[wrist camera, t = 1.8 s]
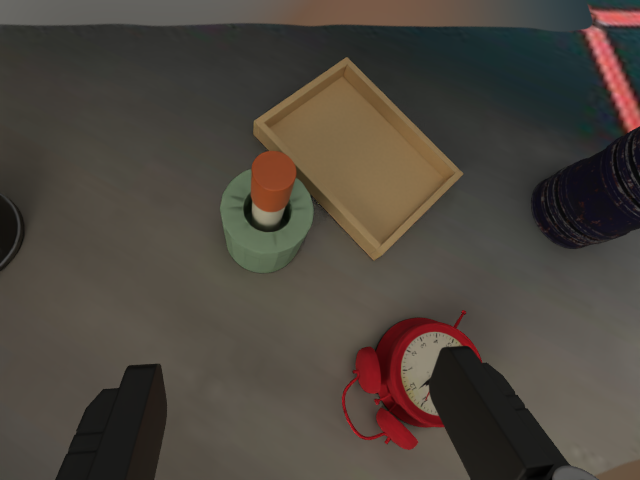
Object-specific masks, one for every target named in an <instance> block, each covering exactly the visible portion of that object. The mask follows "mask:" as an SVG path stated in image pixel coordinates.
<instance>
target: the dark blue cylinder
mask: <svg viewBox="0 0 640 480" xmlns="http://www.w3.org/2000/svg"><path fill="white" fill-rule="evenodd" d="M531 208H532V213H533V216H534V219H535V221H536V223H537V225H538V227H539V228H540V230H541V231H542V232H543V234H544V235H545V236H546V237H547V238H549V239H550V240H551V241H552V242H554V243H556V244H557V245H559V246H562V247H565V248H569V249H577V248H582V247H585V246H587V245H592V244H598V243H602V242H606V241H609V240H612V239H615V238H618V237H620V236H623V235H626V234H627V233H629V232H630V231H632V230H636V229H639V228H640V127H638V128H636V129H634V130H632V131H630V132H629V133H627V134H626V135H625V136H622V137H619V138H618V139H616V140H615V141H614V142H612V143H611V144H610V145H609V146H607V148H606V149H604V150H603V151H601V152H599V153H597V154H595V155H593V156H592V157H590V158H586V159H582V160H580V161H578V162H576V163H574V164H572V165H570V166H567V167H565V168H564V169H562V170H560V171H558V172H557V173H556V174H554V175H553V176H551V177H550V178H548V179H546V180H544V181H542V182H541V183H539V184H538V185H537V187H536V188H535V190H534V192H533V195H532V200H531Z"/></svg>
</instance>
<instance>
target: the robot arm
mask: <svg viewBox="0 0 640 480" xmlns="http://www.w3.org/2000/svg"><path fill="white" fill-rule="evenodd" d="M23 232H24V225H23V219H22V216H21V214H20V211H19V210H18V208H17V207H16V205H15V204H14V203H13V202H12V201H11V200H10V199H8V198H7V197H6V196H4V195H3V194H1V193H0V271H1V270H2V269H3V268H4V267H5V266H6V265H7V264H8V263H9V262H10V261H11V260H12V259H13V257H14V256H15V254H16V253H17V251H18V249H19V247H20V245H21V242H22V239H23ZM429 393H430V397H431V400H432V403H433V405H434V407H435V409H436V411H437V413H438V415H439V417H440V419H441V421H442V423H443V425H444V427H445V429H446V431H447V433H448V435H449V437H450V439H451V441H452V443H453V445H454V447H455V449H456V451H457V453H458V455H459V457H460V459H461V461H462V463H463V465H464V467H465V469H466V471H467V473H468V475H469V477H470V479H471V480H599V479H597V478H596V477H595V476H593V475H592V474H590V473H589V472H587V471H585V470H583V469H580V468H578V467H574V466H571V465H570V464H569V463H568V462H567V461H566V459H565V458H564V457H563V455H562V454H561V453H560V451H559V450H558V449H557V447H556V446H555V445H554V443H553V442H552V441H551V439H550V438H549V437H548V435H547V434H546V433H545V431H544V430H543V429H542V427H541V426H540V425H539V423H538V422H537V421H536V419H535V418H534V417H533V415H532V414H531V413H530V411H529V410H528V409H526V408H525V405H524V403H523V402H522V401H521V399H520V398H519V397H518V395H515V391H514V390H513V389H512V387H511V386H510V384H509V383H508V382H507V380H506V379H505V378H504V376H503V375H501V374H500V373H499V372H498V371H496V370H495V369H494V368H493V367H492V366H490V365H489V364H488V363H482V362H481V361H480V359H479V358H478V357H477V355H476V354H475V352H474V351H473V350H472V349H471V348H470V347H469V346H453V347H443V348H442V349H441V350H440V352H439V355H438V358H437V361H436V364H435V366H434V369H433V372H432V375H431V378H430V381H429ZM166 417H167V400H166V393H165V387H164V381H163V374H162V368H161V365H160V364H145V365H130V366H128V367H127V368H126V370H125V373H124V376H123V378H122V381H121V384H120V387H119V388H114V389H103V390H102V391H101V392H100V393H99V395H98V396H97V397H96V398H95V399H94V400H93V401H92V402H91V403H90V405H89V406H88V407H87V408H86V410H85V412H84V414H83V416H82V419H81V421H80V423H79V426H78V428H77V430H76V431H77V432H76V435H74V437H73V440H72V442H71V444H70V447H69V449H68V454H66V456H65V458H64V461H63V463H62V465H61V468H60V470H59V472H58V475H57V477H56V479H55V480H154V478H155V473H156V468H157V463H158V459H159V454H160V449H161V444H162V439H163V435H164V430H165V425H166Z"/></svg>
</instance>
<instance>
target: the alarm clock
mask: <svg viewBox="0 0 640 480" xmlns="http://www.w3.org/2000/svg"><path fill="white" fill-rule="evenodd" d="M461 313H462V314H461V316H460V317H459V319H458V320H457V322H456V323H455V325H454V327H452V326H450V325H448V324H445V323H441V322H437V321H435V320H432V319H427V318H411V319H407V320H404V321H401V322H399V323H397V324H395V325H394V326H393V327H391V328H390V329H389V330H388V331H387V332H386V333H385V334H384V336H383V337H382V339H381V340H380V342H379V344H378V346H377V349H376V352H375V351H374V349H373V348H372V347H365V348H362V349H361V350H359V352H358V354H357V357H356V370H353V373H357V377H356V378H355V379H353V380H352V381H351V382H350V383H349V384H348V385H347V386H346V388H345V389H344V392H343V396H342V406H343V410H344V413H345V416H346V419H347V421H348V423H349V425H350V427H351V428H352V430H353V431H354V432H355V434H356V435H357V436H359V437H360V438H362V439H364V440H372V439H376V438H378V437H381V436H383V435H385V436H387V437H388V438H387V439H386V441H385V443H386V444H388V442H389V441H390V440H392V441H393V442H394V443H396V444H397V445H399V446H400V447H402V448H404V449H408V450H410V449H413V448H414V447H415V446H416V445H417V443H418V441H417V439H416V438H415V437H414V436H413V435H412V434H411V432H410V431H409V430H408V429H407V428H406V427H405V426H404V425H403V424H402V423H401V422H400V421H398V420H397V419H396V418H395V417H394V416H393V415H392V414H390V412H391V413H393V414H394V415H395V416H396V417H397V418H399V419H400V420H402V421H404V422H406V423H408V424H411V425H414V426H418V427H444V425H443V423H442V421H441V419H440V417H439V415H438V413H437V411H436V409H435V407H434V405H433V403H432V400H431V397H430V393H429V381H430V378H431V375H432V372H433V369H434V366H435V364H436V361H437V358H438V355H439V352H440V350H441V349H442V348H443V347H453V346H469V347H470V348H471V349H472V350H473V351H474V352H475V354H476V355H477V357H478V358H479V359H480V361H481V362H482V360H481V357H480V355H479V353H478V351H477V349H476V347H475V346H474V344H473V343H472V342H471V340H470V339H469V338H468V337H467V336H466V335H465V334H463V333H462V332H461V331H459V330H458V329H456V328H457V326H458V325H459V323H460V321H461V319H462V317H463V315H465V314H466V311H464V310H463V311H462V312H461ZM357 379H358V381H359V383H360V385H361V387H362V389H363V390H364V391H365V392H367V393H372V394H374V393H378V394H379V396H380V399H375V400H374V401H375V403H376V405H378V404H379V401H381V400H382V401H383V403H384V405H385V406H386V407H387V408H388V409H389V412H388V411H386V410H385V409H383V408H380V409H379V411H378V412H377V415H376V419H377V423H378V425H379V426H380V428H381V429H382V431H383V433H380V434H377V435H375V436H371V437H365V436H363V435H361V434H360V433H359V432H358V431H357V430H356V429H355V428H354V426H353V425H352V423H351V421H350V419H349V416H348V414H347V411H346V407H345V395H346V392H347V390H348V388H349V387H350V386H351V385H352V384H353V383H354V382H355V381H356V380H357Z"/></svg>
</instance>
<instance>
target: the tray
mask: <svg viewBox="0 0 640 480" xmlns="http://www.w3.org/2000/svg"><path fill="white" fill-rule="evenodd" d="M253 131H254V132H253V134H254V136H255V137H256V138H257V139H258V140H259V141H260V142H261V143H262V144H263V145H264V146H265V147H266V148H267V149H268V150H269V151H279V152H282V153H284V154H286V155H287V156H289V157H290V158H291V159H292V161H293V162H294V164H295V166H296V172H297V174H296V178H297V179H298V180H300V181H301V182H302V183H303V185H304V186H305V188H306V189H307V190H308V192H309V193H310V194H311V195H312V196H313V197H314V199H315V200H316V201H317V202H318V203H319V204H320V205H321V206H322V207H323V208H324V209H325V210H326V211H327V212H328V213H329V214H330V215H331V216H332V217H333V218H334V220H335V221H336V222H337V223H338V224H339V225H340V226H341V227H342V228H343V229H344V230H345V231H346V232H347V233H348V234H349V235H350V236H351V237H352V238H353V239H354V241H355V242H356V243H357V244H358V245H359V246H360V247H361V248H362V249H363V250H364V251H365V252H366V253H367V254H368V255H369V256H370V257H371V258H372V259H373V260H376V259H377V258H379V257H380V256H382V255H383V254H384V253H385V252H386V251H387V250H388V249H389V248H390V247H391V246H392V245H393V244H394V243H395V242H396V241H397V240H398V239H399V238H400V237H401V236H402V235H403V234H404V233H405V232H406V231H407V230H408V229H409V228H410V227H411V226H412V225H413V224H414V223H415V222H416V221H417V220H418V219H419V218H420V217H421V216H422V215H423V214H424V213H425V212H426V211H427V210H428V209H429V208H430V207H431V206H432V205H433V204H434V203H435V202H436V201H437V200H438V199H439V198H440V197H441V196H442V195H443V194H444V193H445V192H446V191H447V190H448V189H449V188H450V187H451V186H452V185H453V184H454V183H455V182H456V181H457V180H458V179H459V178H460V177H461V176H462V175H463V173H462V172H461V171H460V170H459V169H458V168H457V167H456V166H455V165H454V164H453V163H452V162H451V161H450V160H449V159H448V158H447V157H446V156H445V155H444V154H443V153H442V152H441V151H440V150H439V149H438V148H437V147H436V146H435V145H434V144H433V143H432V142H431V141H430V140H429V139H428V138H427V137H426V136H425V135H424V134H423V133H422V132H421V131H420V130H419V129H418V128H417V127H416V126H415V125H414V124H413V123H412V122H411V121H410V120H409V119H408V118H407V117H406V116H405V115H404V114H403V113H402V112H401V111H400V110H399V109H398V108H397V107H396V106H395V105H394V104H393V103H392V102H391V101H390V100H389V99H388V98H387V97H386V96H385V95H384V94H383V93H382V92H381V91H380V90H379V89H378V88H377V87H376V86H375V85H374V84H373V83H372V82H371V81H370V80H369V79H368V78H367V77H366V76H365V75H364V74H363V73H362V72H361V71H360V70H359V69H358V68H357V67H356V66H355V65H354V64H353V63H352V62H351V61H350V60H349V59H348V58H347V57H346V58H345V59H343V60H342V61H340V62H339V63H337V64H336V65H335V66H333V67H332V68H330V69H329V70H327V71H326V72H324V73H323V74H321V75H320V76H319V77H317V78H316V79H314V80H313V81H311V82H310V83H308V84H307V85H306V86H304V87H303V88H301V89H300V90H298V91H297V92H295V93H294V94H292V95H291V96H290V97H288V98H287V99H285V100H284V101H282V102H281V103H279V104H278V105H277V106H275V107H274V108H272V109H271V110H269V111H268V112H266V113H265V114H263V115H262V116H261V117H259V118H258V119H256V120H255V121H254V130H253Z"/></svg>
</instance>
